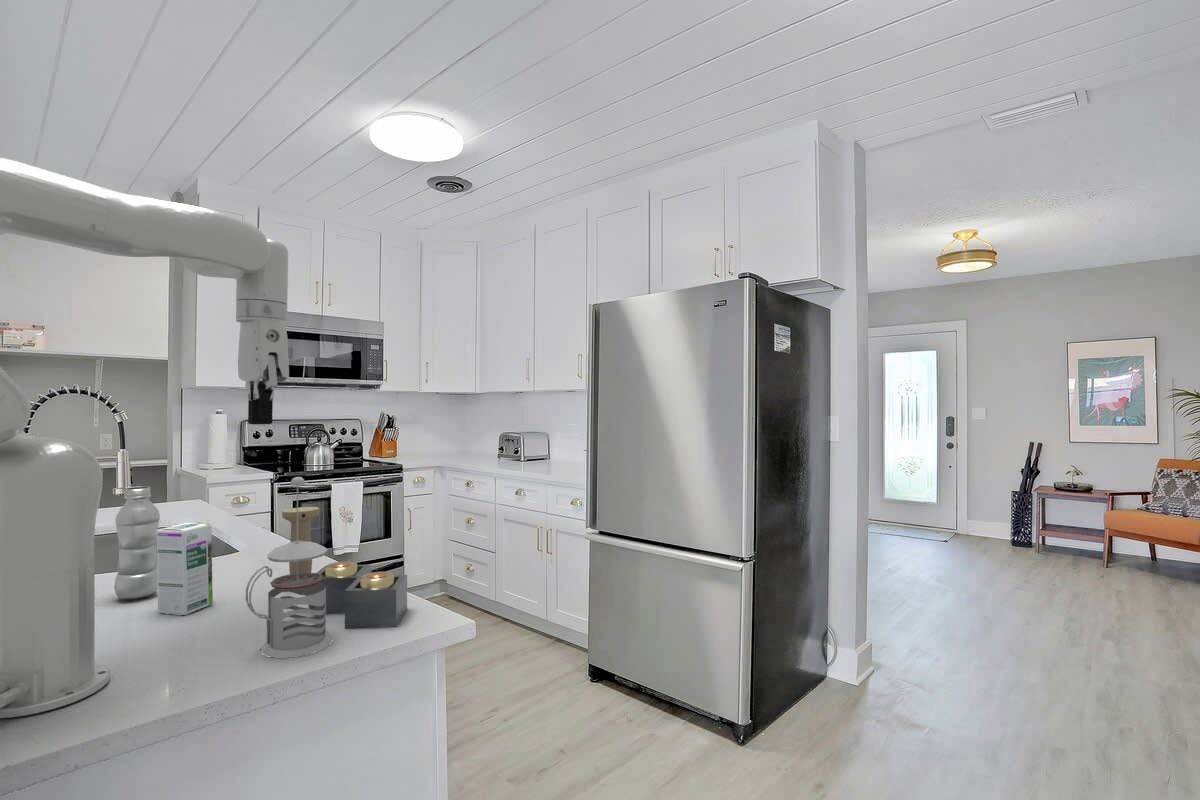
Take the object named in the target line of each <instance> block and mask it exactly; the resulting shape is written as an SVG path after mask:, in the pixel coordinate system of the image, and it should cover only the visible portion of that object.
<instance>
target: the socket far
mask: <svg viewBox="0 0 1200 800" xmlns="http://www.w3.org/2000/svg"><path fill="white" fill-rule="evenodd" d="M325 566H326V565H324V566H323V567H322V568H321V569H319V570H318V571H317V572H316V573H318V574H321V575H323V577H324V579H323V580H322V581H321V582H320V583H322V584H324V585H325V586H326V614H345V590H346V589H347V588H348V587H349V586H350V585H351V584H352V583H353V582H354V581H355V580H356V579H357V578H358V577H359V576H363V575H365V574H368V573H372V565H371V564H357V573H356V574H355V575H354V576H329V577H325ZM312 608H316V606H313V605H308V609H312Z"/></svg>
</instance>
